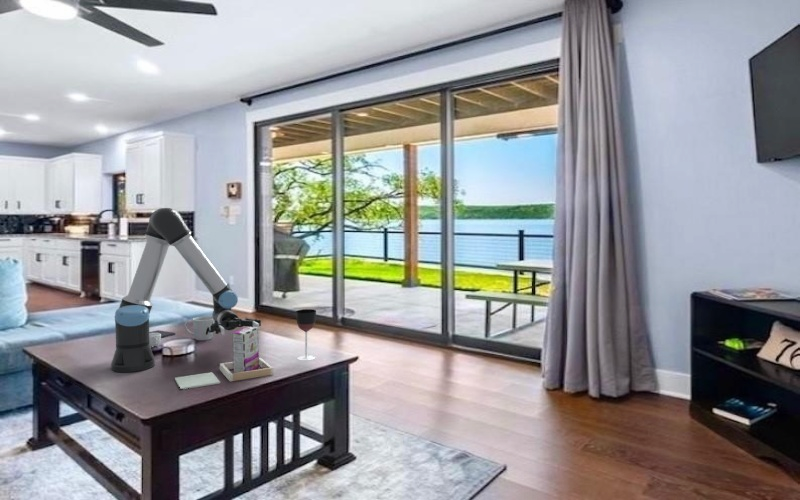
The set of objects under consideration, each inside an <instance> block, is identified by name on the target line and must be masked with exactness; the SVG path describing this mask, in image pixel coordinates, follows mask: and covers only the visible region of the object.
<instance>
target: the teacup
mask: <svg viewBox="0 0 800 500" xmlns="http://www.w3.org/2000/svg"><path fill="white" fill-rule="evenodd" d="M161 341H162V338H161V334H160V333H149V343H150V347H152V346H157V347H158V346H159V345H160V343H161ZM152 348H153V347H152Z"/></svg>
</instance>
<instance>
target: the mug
mask: <svg viewBox="0 0 800 500" xmlns="http://www.w3.org/2000/svg"><path fill="white" fill-rule="evenodd" d="M189 323H191V324H192V327H193V332H192V331H190V329H188V327H187V325H188V324H189ZM214 323H215V321H214V320H213V317H212V315H211V316H210V315H209V316H206V315H205V316H196V317H193V318H192V319H190V320H186V321H185V322H184V324H183V329H184V330H185V332H186V333H188V334H190V335H192V336H194V339H195V340H196V341H209V340H211V339H213V336H214V335H213V334H214V332H210V326H211V325H212V324H214Z"/></svg>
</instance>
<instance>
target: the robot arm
mask: <svg viewBox="0 0 800 500" xmlns="http://www.w3.org/2000/svg"><path fill="white" fill-rule="evenodd" d="M144 236H145V238H146V243H145V246H144V248H143V251H142V254H141V258H140V260H139V263H138V266H137V268H136V271H135V275H134V277H133V280H132V283H131V285H130V287H129V291H128V294H127V295H126V296H124V297H123V296H122V299H121V301H120V304H119V307H118V308H117V309H116V310H115V313H114V314H115V315H114V322H115V323H114V325H115V328H114V329H115V352H114V354H113V357H112V361H111V364H110V367H111V368H110V369H111V371H113V372H115V373H116V372H117V373H134V372H140V371H144V370H148V369H150V368H152V367H154V366H155V364H156V361H155V360H156V358H155V356H154V354H153V351H152V348H150V343H149V332H150V313H151V311H152V308H153V303H152V301H151V298H152V296H153V293H154V290H155V287H156V284H157V281H158V279H159V276H160V272H161V270H162V267H163V264H164V261H165V259H166V255H167V253H168V250H169V247H170V246H171V247H174V248H175V249H176V250H177V251H178V253H179V254H180V256H182V258H183V259H184V260H185V262H186V264H187V265H188V266H189V267H190V268H191V270H192V271H193V272H194V273H195V275H196V276H197V277H198V278H199V280H200V282H201V283H202V284H203V285H204V286H205V288H206V289H207V290H208V292H209V293H210V294H211V295H212V304H213V306H212V307H213V311H212V314H211V317H213V320H214V321H215V323H214V324H212V325H211V326H210V332H213V333H214V332H215V334H216V335H217V334H218V335H219V333H220V335H222V336H225V335H226V331H233V330H235V329H237V328H242V327H243V328H244V327H258V332H259V331H260V327H261V326H262V325H261V323H262V320H261V319H256V318H249V317H244V319H243V318H239V316H238V314H236V313H235V312H233V311H232V308H234V307H236V305H237V304H238V301H239V298H238V295H237V294H236V292H235V291H233V290H232V288H231V285H230V282H229V281H226V280H225V279H224V277H223V276H222V275H221V273H220V272H219V271H218V269H217V268H216V267H215V265H214V264H213V263H212V262H211V260H210V259H209V258H208V257H207V255H206V254H205V252H204V251H203V249H202V248H201V247H200V246H199V245H198V243H197V242H196V240H195V239H194V238H193V236H192V231H191V229H190V228H189V227H188V225H187V223H186V222H185V220H184V218H183V217H182V215H181V213H180V212H179V211H177V210H176V209H173V208H170V207H160V208H158V209H156V210H154V211H153V212H152V213H151V215H150V217H149V222H148V225H147V228H146V231H145V233H144ZM225 330H226V331H225Z"/></svg>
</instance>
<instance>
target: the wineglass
mask: <svg viewBox="0 0 800 500" xmlns="http://www.w3.org/2000/svg"><path fill="white" fill-rule="evenodd" d="M295 315H296V323H297V326H298V328H299V329H300V330H301V331H302V332H304V334H305V335H304V336H305V337H304V339H305V341H304V342H305V347H304V350H305V354H304V355H301V356H298V357H297V358H296V359H297V360H299V361H312V360H314V359H316V356H314V355H308V332H309V331H310V330H312V329H313V328H314V327H315V325H316V319H317V310H316V309H311V308H310V309H309V308H308V309H307V308H306V309H304V308H303V309H298V310H296V312H295ZM313 356H314V357H313Z"/></svg>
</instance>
